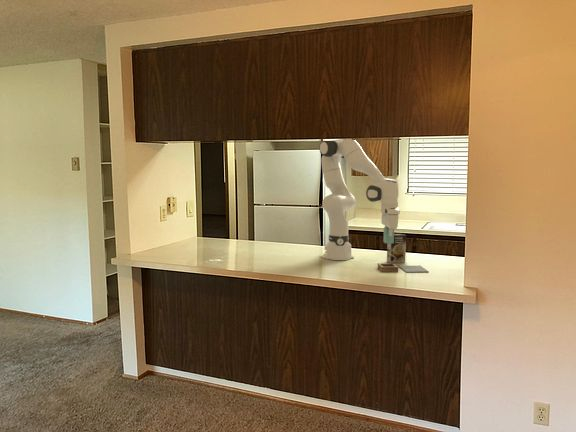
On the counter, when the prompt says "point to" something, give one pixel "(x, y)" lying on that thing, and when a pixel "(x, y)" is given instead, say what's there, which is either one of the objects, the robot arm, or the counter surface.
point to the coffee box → (397, 249)
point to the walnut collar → (388, 267)
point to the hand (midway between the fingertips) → (388, 235)
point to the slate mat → (414, 269)
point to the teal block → (388, 238)
